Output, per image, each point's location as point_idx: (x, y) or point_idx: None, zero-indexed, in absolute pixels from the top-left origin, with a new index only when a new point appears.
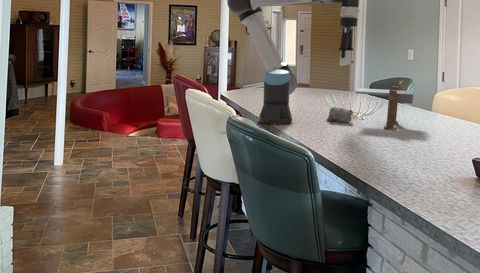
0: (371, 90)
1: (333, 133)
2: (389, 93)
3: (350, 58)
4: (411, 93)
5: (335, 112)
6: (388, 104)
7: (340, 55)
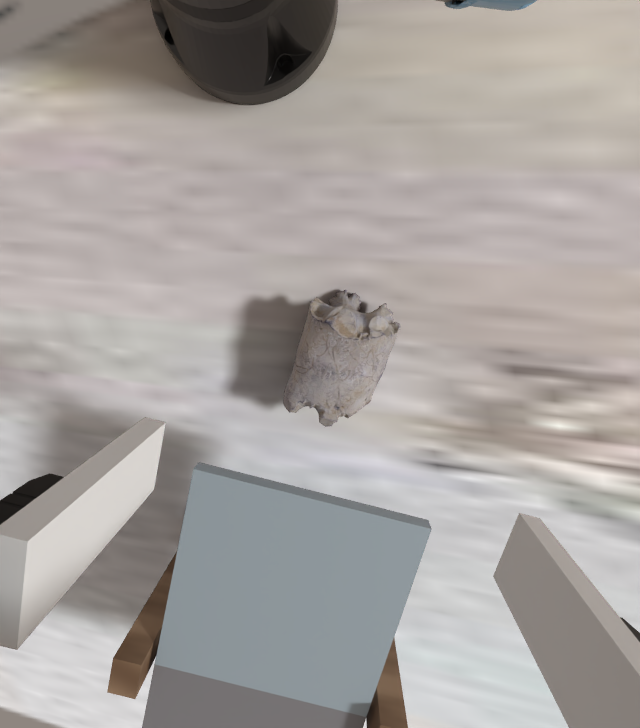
0: (285, 577)
1: (36, 299)
2: (123, 641)
3: (530, 646)
4: None
5: (303, 334)
6: (153, 592)
7: (62, 483)
